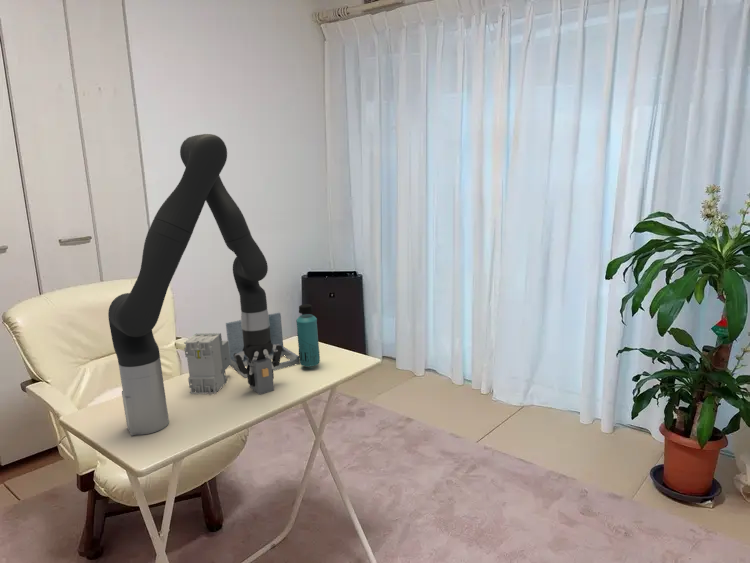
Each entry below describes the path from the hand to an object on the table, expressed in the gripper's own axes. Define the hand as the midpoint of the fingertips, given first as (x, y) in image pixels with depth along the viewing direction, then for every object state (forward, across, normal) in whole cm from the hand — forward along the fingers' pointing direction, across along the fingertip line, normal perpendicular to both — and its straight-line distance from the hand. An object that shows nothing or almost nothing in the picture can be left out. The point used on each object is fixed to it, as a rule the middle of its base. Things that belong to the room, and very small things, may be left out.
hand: (261, 383), depth 153 cm
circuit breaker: (+2, -10, +13) cm, 17 cm away
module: (+2, 0, 0) cm, 2 cm away
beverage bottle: (+2, +18, +6) cm, 19 cm away
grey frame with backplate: (+2, +8, +17) cm, 19 cm away
